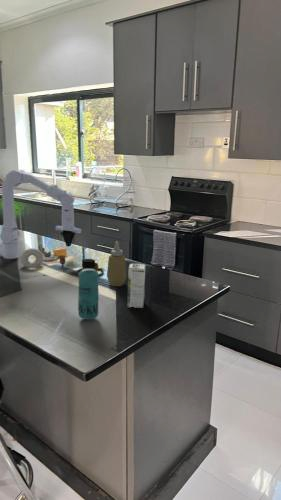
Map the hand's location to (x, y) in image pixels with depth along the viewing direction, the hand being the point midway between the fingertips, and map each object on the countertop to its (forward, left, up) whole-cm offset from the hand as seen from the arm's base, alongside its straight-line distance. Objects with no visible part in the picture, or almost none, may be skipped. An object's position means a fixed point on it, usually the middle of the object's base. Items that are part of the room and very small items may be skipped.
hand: (68, 246), depth 183 cm
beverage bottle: (+61, -33, -8) cm, 70 cm away
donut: (+1, -20, -8) cm, 22 cm away
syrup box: (+62, -13, -8) cm, 64 cm away
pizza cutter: (-6, -6, -6) cm, 10 cm away
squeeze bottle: (+41, -4, -8) cm, 42 cm away
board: (-5, -5, -8) cm, 11 cm away
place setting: (+18, -3, -9) cm, 20 cm away
